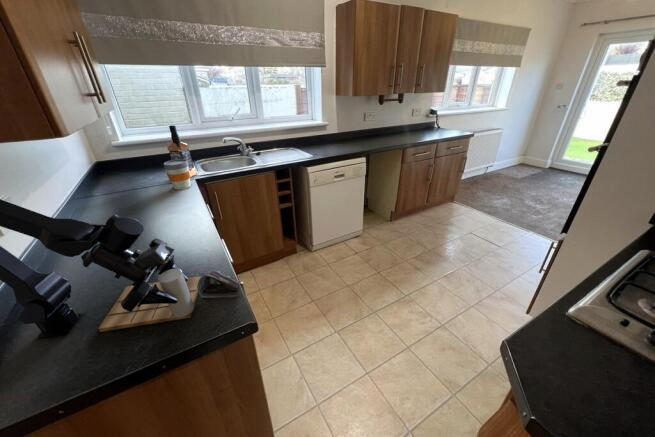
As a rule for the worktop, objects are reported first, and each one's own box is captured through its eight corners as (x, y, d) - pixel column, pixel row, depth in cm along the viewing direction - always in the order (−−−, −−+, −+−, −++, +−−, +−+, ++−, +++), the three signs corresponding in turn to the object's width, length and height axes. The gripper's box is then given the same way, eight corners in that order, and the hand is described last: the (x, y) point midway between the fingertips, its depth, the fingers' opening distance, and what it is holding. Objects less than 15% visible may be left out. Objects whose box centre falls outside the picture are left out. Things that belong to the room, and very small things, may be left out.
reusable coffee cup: (168, 186, 161) (160, 162, 154) (189, 181, 169) (183, 157, 162) (174, 192, 153) (166, 166, 146) (196, 186, 160) (190, 161, 153)
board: (99, 332, 69) (97, 328, 68) (127, 289, 83) (126, 286, 82) (190, 317, 72) (189, 314, 72) (203, 278, 86) (202, 275, 86)
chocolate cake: (248, 281, 85) (218, 256, 83) (241, 291, 78) (209, 264, 77) (228, 301, 86) (199, 277, 85) (220, 313, 79) (188, 286, 78)
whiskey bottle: (174, 177, 176) (159, 126, 161) (184, 172, 184) (170, 124, 169) (188, 178, 174) (173, 127, 159) (197, 173, 182) (185, 124, 167)
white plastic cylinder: (167, 314, 72) (153, 279, 66) (184, 300, 76) (171, 266, 71) (182, 320, 70) (168, 284, 64) (198, 305, 74) (186, 271, 69)
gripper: (115, 263, 54) (187, 298, 60) (155, 219, 70) (209, 250, 76) (89, 296, 56) (161, 326, 63) (134, 247, 73) (187, 275, 79)
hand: (182, 290), depth 70 cm, fingers open, 7 cm apart
